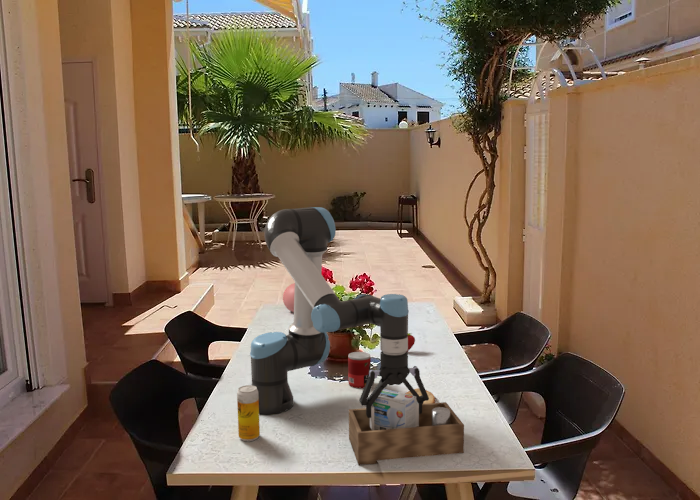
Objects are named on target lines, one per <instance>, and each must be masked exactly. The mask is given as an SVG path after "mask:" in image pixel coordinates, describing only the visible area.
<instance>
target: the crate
mask: <svg viewBox="0 0 700 500" xmlns="http://www.w3.org/2000/svg"><path fill="white" fill-rule="evenodd" d="M437 407H444V408H447V409H449V410H450V424H449V425H436V426H432V409H434V408H437ZM348 440H349V443H350V445H351V448H352V452H353V453H354V456H355V459H356V462H357V465H358V466H367V465H377V464H379V462H378V461H386V460H397V459H398V460H399V459H407V458H410V459H411V458H420V457H421V458H422V457H431V456H445V455H456V454H465V453H464V447H465V445H464V442H465V424H464V422H463V421H461V419H460V418H459V417H458V416H457V413H455V412H454V411H453V409H452V408H451V407H450V405H449V404H448V403H447V402H446V401H443V402H436V403H428V404H422V414H419V426H417V427H411V428H398V429H386V430H371V428H370V418H368V417H367V415H366V407H362V408H349V409H348Z"/></svg>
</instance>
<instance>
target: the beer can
mask: <svg viewBox="0 0 700 500" xmlns="http://www.w3.org/2000/svg"><path fill="white" fill-rule="evenodd" d="M236 397H237V398H236V401H237V427H238V428H237V430H238V438H240V440H241V441H243V442H254V441H256V440H257V439H258V438H259V436H260V413H259V397H258V390H257V387H256V386H252V384H248V385H247V384H246V385H242V386H240V387H238V389H237V392H236Z"/></svg>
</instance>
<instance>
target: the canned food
mask: <svg viewBox="0 0 700 500" xmlns="http://www.w3.org/2000/svg"><path fill="white" fill-rule="evenodd" d="M371 360H372V359H371V354H370V353H368V352H365V351H354V352H353V351H352V352H350V353H348V357H347V365H348V366H347V369H348V370H347V375H348V385H349V386H350V387H351V388H355V389H364V387H365V385H366V382H367V380H368V377H369V370H370V369H372V367H371V363H372V361H371Z"/></svg>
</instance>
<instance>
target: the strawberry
mask: <svg viewBox="0 0 700 500" xmlns="http://www.w3.org/2000/svg"><path fill="white" fill-rule="evenodd" d="M412 334H413V333H412V332H410V333H409V332H408V350H407V352H408V353H409V351H410V350H411V349H412V348H413V346H414V345H415V342H416V339H415V336H414V335H412Z"/></svg>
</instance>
